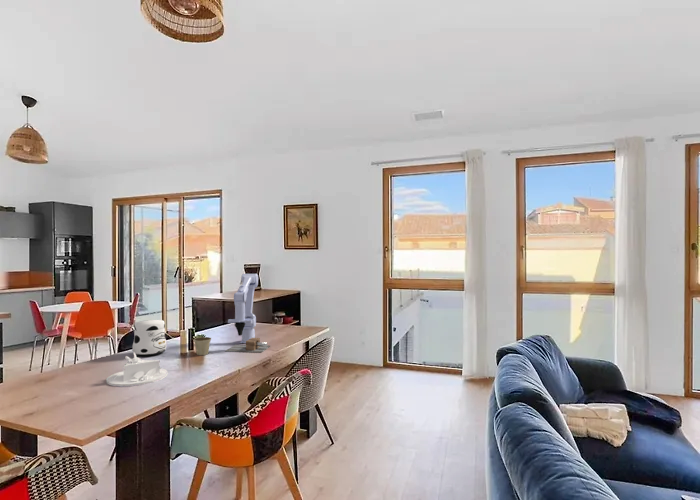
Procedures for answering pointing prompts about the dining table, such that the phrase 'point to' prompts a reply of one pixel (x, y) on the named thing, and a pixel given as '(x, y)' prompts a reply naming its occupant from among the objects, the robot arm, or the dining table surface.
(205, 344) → the flower pot
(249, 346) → the hitch block
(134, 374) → the dish
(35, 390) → the dining table surface
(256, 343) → the pin
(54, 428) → the dining table surface
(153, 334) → the milk container
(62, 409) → the dining table surface
